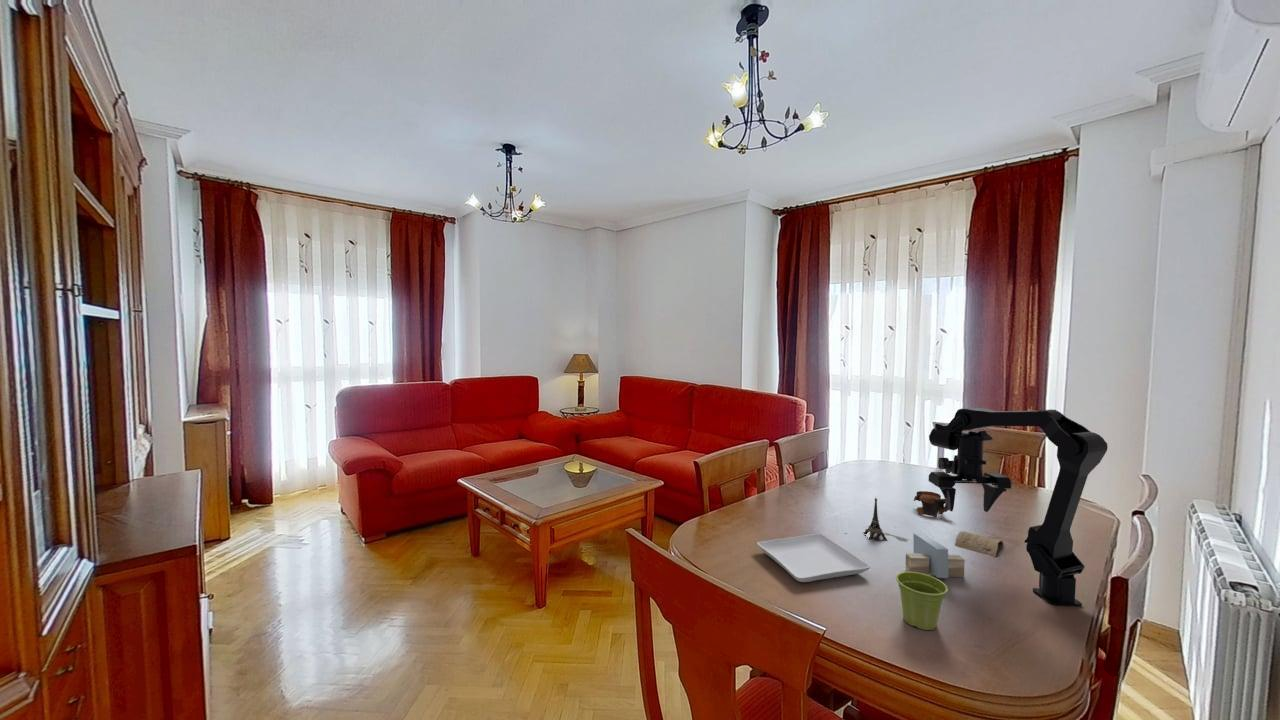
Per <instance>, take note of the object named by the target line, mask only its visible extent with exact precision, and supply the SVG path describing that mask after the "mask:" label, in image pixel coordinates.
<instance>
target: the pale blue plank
mask: <svg viewBox="0 0 1280 720" xmlns="http://www.w3.org/2000/svg"><path fill="white" fill-rule="evenodd" d="M913 553H916V554H925V555H926V556H927V557H928V558H929V572H931V573H932V574H933V575H935V576H934V577H935V578H936V579H938V578H939V579H948V578H949V577H948V555H949V549H948V548H947V547H945V546H943V545H942V544H941V543H939V542H938V541H936V540H935V539H933V538H932V537H930V536H928V535H927V534H925V533H922V532H920V533H919V532H913Z"/></svg>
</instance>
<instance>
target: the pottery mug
mask: <svg viewBox="0 0 1280 720" xmlns="http://www.w3.org/2000/svg"><path fill="white" fill-rule="evenodd" d="M941 497H942V495H941V494H939V493H938V492H933V491H928V490H927V491H925V490H924V491H923V490H922V491H921V490H920V491H916V494H915V496H914V499H913V502H915V501H918V502H921V506H918V507H917V508H916V510H917V514H918V515H926V516H929V517H935V518H937V517H938V514H939V515H944V513H947V512H948V511H950V510H949V509H948V506H947V503H946V501H945V498H941Z"/></svg>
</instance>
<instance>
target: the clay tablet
mask: <svg viewBox="0 0 1280 720" xmlns="http://www.w3.org/2000/svg"><path fill="white" fill-rule="evenodd" d="M999 543H1003V540H1000V539H996V538H992V537H987V536H984V535H981V534H980V535H979V534H977V533H971V532H968V531H965V530H964V531H963V530H961V531H959V532H958V534H957V536H956V539H955V543H954V546H955V547H957V548H960V549H964V550H967V551H971V552H975V553H978V554H983V555H986V556H990V557H994V558H996V556H997V551H998V547H999Z"/></svg>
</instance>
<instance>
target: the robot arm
mask: <svg viewBox="0 0 1280 720" xmlns="http://www.w3.org/2000/svg"><path fill="white" fill-rule="evenodd" d="M994 427H1038V428H1040V430H1042V432H1043V433H1044V434H1045V436H1046V438H1047V439H1048V440H1049V442H1051V443H1052V444H1054V446H1055V447H1057V450H1056V457H1057V462H1058V465H1059V470H1058V471H1059V472H1058V476H1057V478H1056V481H1055V484H1054V487H1053V490H1052V494H1051V497H1050V500H1049V503H1048V506H1047V509H1046V513H1045V516H1044V519H1043V522H1042V524H1039V525H1038V524H1037V525H1034V526H1030V527H1029V528H1028V531H1027V537H1026V539H1025V540H1024V544H1025V543H1026V547H1025V548H1026V552H1027V553H1028V555H1029V557H1030V559H1031V563H1032V566H1033V569H1034V571H1035V572H1038V573H1039V577H1038V578H1039V579H1038V580H1039V581H1038V587H1033V588H1032V591H1033V592H1034V593H1035V594H1037V595H1038V596H1039V597H1041V598H1042V599H1044V600H1045V601H1047V602H1048V603H1049V604H1051V605H1054V606H1055V605H1056V606H1077V607H1083V603H1082V602H1081V601H1079V600H1078V599H1076V589H1077V587H1076V585H1077V578H1076V577H1075V575H1077V574H1078V575H1080V574H1082V573H1083V571H1084V569H1085V565H1084V563H1082V561H1081V560H1080V559H1079V558H1078V556H1077V555H1076V554H1075V552H1074V551H1073V547H1074V540H1073V537H1072V533H1071V527H1072V525H1073V521H1074V518H1075V515H1076V513H1077V509H1078V506H1079V503H1080V501H1081V497H1082V494H1083V491H1084V487H1085V485H1086V483H1087V479H1088V476H1089V474H1090V473H1091V472H1092V471H1093V470H1094V469H1095V468H1097V466H1098V465H1099V464H1100V463H1101V461H1102V459H1104V457H1105V455H1106V454H1107V451H1108V448H1109V447H1108V443H1107V442H1106V440H1105V439H1104V438H1103V436H1101V435H1100V434H1098V433H1096V432H1092V431H1090V429H1088V428H1087V427H1085V426H1084V425H1082V424H1079V422H1076V421H1074V420H1072V419H1070V418H1069V417H1067V416H1066V415H1064V414H1063V413H1062V412H1060V411H1059V410H1056V409H1052V408H1051V409H1041V410H1012V411H1011V410H1007V411H1005V410H1003V411H1002V410H1001V411H1000V410H993V409H992V408H991V409H990V408H986V407H985V408H984V407H968V408H967V407H965V408H964V407H963V408H959V409H957V411H956V412H955V414H954V417H953V418H952V419H951V420H950V422H949V423H948V424H945V423H942V422H936V423H934V427H933V428H932V429H931V431H930V433H929V435H928V439H929V443H930V444H931V445H932V446H933V447H938V448H941V449H945V450H950V451H956V450H957V454H956V455H955V454H954V456H953V460H949V458H948V457H938V460H937V461H938V463H937V464H938V465H937V466H938V468H939V470H945V471H931V472H930V473H929V475H928V482H930V483H932V484H933V486H935V487H937V488H939V489H940V491H941V493H942V495H943V497H944V498H943V499H945V501H946V503H947V506H948V509H949V510H948V511H950V512H953V511H954V508H955V499H956V494H957V493H956V491H957V488H955V487H954V486H956V484H981V486H982V487H983V511H984V512H985V513H988V512H989V511H990V509H991V508H992V506H993V505H994V504H995V502H996V501H997V499H999V497H1000V496H1001V495H1002V494H1003V493H1004V492H1007V489H1009V490H1010V489H1012V488H1013V487H1012V485H1013V481H1012V480H1011V478H1010V477H1009V476H1007V475H1005V474H1001V473H999V472H984V473H983V471H984V470H983V468H984V465H985V466H986V465H987V460H985V459H984V442H986V441H987V442H988V441H993V437H992V436H991V435H990V434H989V433H988V432H987V431H986V430H981V429H987V428H994ZM973 430H979V431H978V432H976V431H973ZM964 431H966V432H964ZM950 473H951V474H952V475H951V474H950Z"/></svg>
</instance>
